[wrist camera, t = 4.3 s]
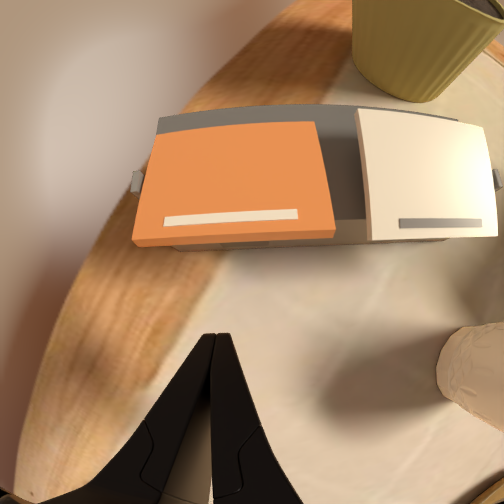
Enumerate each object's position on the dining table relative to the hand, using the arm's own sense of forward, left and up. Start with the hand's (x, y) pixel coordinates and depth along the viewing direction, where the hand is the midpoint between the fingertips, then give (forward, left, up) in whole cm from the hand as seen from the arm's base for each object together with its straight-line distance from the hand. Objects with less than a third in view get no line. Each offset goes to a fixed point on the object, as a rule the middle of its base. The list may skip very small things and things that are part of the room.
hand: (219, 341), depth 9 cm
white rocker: (+10, -9, -4) cm, 14 cm away
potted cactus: (+30, -10, -13) cm, 34 cm away
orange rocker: (+7, +2, -4) cm, 9 cm away
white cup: (0, -19, -13) cm, 23 cm away
